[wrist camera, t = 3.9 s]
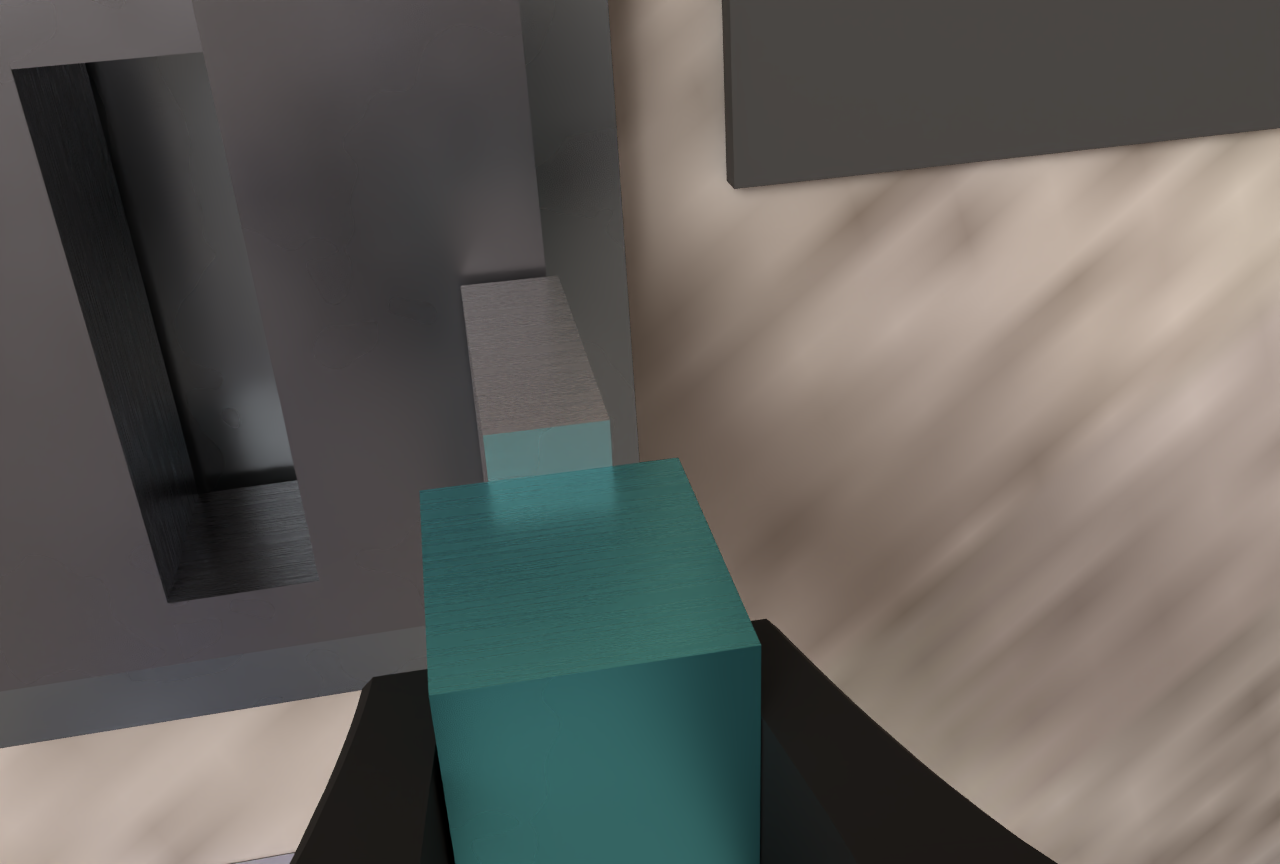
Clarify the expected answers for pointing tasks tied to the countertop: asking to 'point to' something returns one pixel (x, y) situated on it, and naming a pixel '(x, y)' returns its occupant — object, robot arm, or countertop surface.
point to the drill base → (239, 357)
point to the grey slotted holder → (290, 310)
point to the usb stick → (580, 625)
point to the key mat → (984, 80)
